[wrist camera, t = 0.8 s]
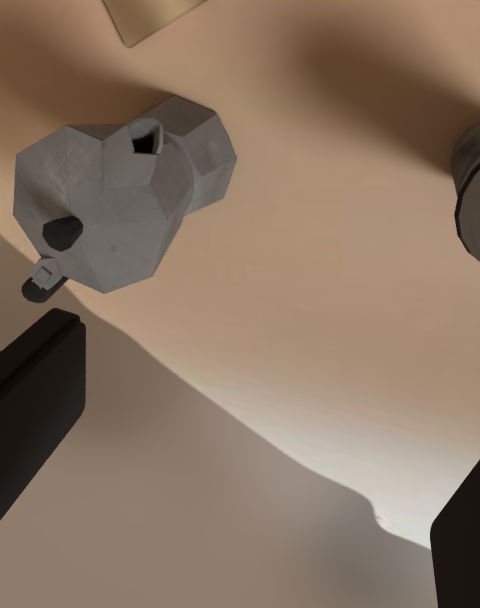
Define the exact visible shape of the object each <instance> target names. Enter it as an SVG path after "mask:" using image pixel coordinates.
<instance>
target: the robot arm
mask: <svg viewBox="0 0 480 608" xmlns="http://www.w3.org/2000/svg"><path fill="white" fill-rule="evenodd" d="M85 350H86V327H85V324H84V323H81V321H80V317H79V316H78V315H77V314H73V313H70V312H67V311H64V310H61V309H58V308H53V309H51V310H50V311H48V312H47V313H46V314H45V315H44V316H43V317H42V318H40V319H39V320H38V321H37V322H36V323H34V324H33V325H32V326H31V327H30V328H28V329H27V330H26V331H25V332H24V333H23V334H21V335H20V336H19V337H18V338H17V339H16V340H14V341H13V342H12V343H11V344H9V345H8V346H7V347H6V348H5V349H4V350H2V351H0V520H1V519H2V517H3V516H4V515H5V514H6V512H7V511H8V510H9V508H10V507H11V506H12V505H13V503H14V502H15V501H16V499H17V498H18V497H19V495H20V494H21V493H22V492H23V490H24V489H25V488H26V486H27V485H28V484H29V482H30V481H31V480H32V479H33V477H34V476H35V475H36V473H37V472H38V470H39V469H40V468H41V467H42V466H43V464H44V463H45V462H46V460H47V459H48V458H49V457H50V455H51V454H52V453H53V451H54V450H55V449H56V447H57V446H58V445H59V444H60V442H61V441H62V440H63V438H64V437H65V436H66V434H67V433H68V432H69V431H70V429H71V428H72V427H73V425H74V424H75V423H76V421H77V420H78V419H79V417H80V416H81V414H82V412H83V410H84V407H85V386H86V384H85V383H86V377H85V375H86V374H85V373H86V351H85ZM430 542H431V551H432V559H433V567H434V576H435V584H436V592H437V601H438V608H480V460H479V461H478V463H477V464H476V465H475V467H474V468H473V469H472V471H471V472H470V473H469V475H468V476H467V477H466V479H465V480H464V481H463V483H462V484H461V485H460V487H459V488H458V489H457V491H456V492H455V493H454V495H453V496H452V497H451V499H450V500H449V501H448V503H447V504H446V505H445V507H444V508H443V509H442V511H441V512H440V513H439V515H438V516H437V517H436V519H435V520H434V522H433V523H432V526H431V530H430Z"/></svg>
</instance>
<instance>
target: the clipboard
mask: <svg viewBox="0 0 480 608" xmlns="http://www.w3.org/2000/svg"><path fill="white" fill-rule="evenodd" d="M205 1H207V0H104V2H105V4H106V6H107V8H108V10H109V12H110V14H111V16H112V18H113V20H114V22H115V24H116V26H117V29H118V31H119V33H120V35H121V37H122V39H123V41H124V43H125V45H126V47H127V48H131V47H133V46H135V45H136V44H138V43H139V42H141V41H143V40H144V39H146V38H147V37H149V36H151V35H152V34H154V33H155V32H157V31H159V30H160V29H162V28H163V27H165V26H167V25H168V24H170V23H172V22H173V21H175V20H176V19H178V18H180V17H181V16H183V15H184V14H186V13H188V12H189V11H191V10H192V9H194V8H196V7H197V6H199V5H200V4H202V3H204V2H205Z"/></svg>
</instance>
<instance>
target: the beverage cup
mask: <svg viewBox="0 0 480 608" xmlns="http://www.w3.org/2000/svg"><path fill="white" fill-rule="evenodd" d="M451 163H452V165H451V167H452V174H453V179H454V184H455V188H456V193H457V197H458V199H457V204H456V209H455V214H454V216H455V222H456V229H457V235H458V237H459V238H460V240H461V242H462V243H463V245H464V247H465V248H466V250H467V252H468V253H470V254H471V255H472V256H473V257H475V258H476V259H477V260H478V261H480V124H479V125H476V126H475V127H473V128H471V129H470V130H468V131H467V132H466V133H465V134H464V135H463V136H462V137H461V138H460V139H459V140H458V142H457V144H456V145H455V147H454V149H453V153H452V158H451Z"/></svg>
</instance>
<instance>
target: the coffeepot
mask: <svg viewBox="0 0 480 608" xmlns="http://www.w3.org/2000/svg"><path fill="white" fill-rule="evenodd" d="M236 160H237V156H236V154H235V152H234V149H233V147H232V144H231V142H230V139H229V136H228V134H227V132H226V130H225V128H224V126H223V125H222V123H221V120H220V118H219V116H218V114H217V113H215V112H213V111H210V110H208V109H206V108H204V107H202V106H200V105H198V104H196V103H193V102H189V101H187V100H185V99H182V98H180V97H178V96H175V95H174V96H173V97H171V98H169V99H167V100H165V101H164V102H162V103H160V104H158V105H156V106H155V107H153V108H151V109H149V110H147V111H145V112H144V113H142V114H140V115H138V116H137V117H136V118H135V119H134V120H133V121H131V122H130V123H129V124H104V125H65V126H63V127H62V128H60V129H58V130H57V131H55V132H53V133H52V134H50V135H48V136H47V137H45V138H43V139H41V140H40V141H38V142H36V143H35V144H33V145H31V146H30V147H28V148H26V149H25V150H23V151H21V152H19V153H18V154H16V168H15V188H14V207H13V216H14V217H15V219H16V220H17V222H18V223H19V225H20V226H21V228H22V229H23V231H24V232H25V234H26V235H27V237H28V238H29V240H30V241H31V242H32V244H33V245H34V247H35V248H36V250H37V251H38V253H39V254H40V256H41V257H42V258H41V259H39V260H38V261H37V263H36V264H35V266H34V267H33V269H32V270H31V272H30V273H29V276H31V277H30V278H29V279H28V280H27V281H26V282H25V283H24V284H23V286H22V290H21V291H22V294H23V296H24V297H25V298H26V299H27V300H28V301H32V302H35V303H44V302H46V301H47V300H48V299H49V298H50V297H51V296H52V295H53V294H54V293H55V292H56V291H57V290H58V289H59V288H60V287H61V286H62V285H63V284H64V283H65V282H66V281H67V280H68V279H69V278H70V279H72V280H74V281H77V282H79V283H81V284H83V285H85V286H88V287H90V288H92V289H94V290H97V291H99V292H101V293H103V294H105V293H108V292H111V291H114V290H116V289H119V288H122V287H125V286H128V285H130V284H133V283H136V282H139V281H142V280H144V279H147V278H150V277H153V275H154V273H155V271H156V269H157V268H158V266H159V264H160V262H161V260H162V259H163V257H164V255H165V253H166V251H167V249H168V248H169V246H170V244H171V242H172V240H173V239H174V237H175V235H176V233H177V231H178V229H179V228H180V226H181V223H182V220H183V217H184V216H186V215H188V214H190V213H192V212H194V211H197V210H199V209H201V208H203V207H205V206H208V205H210V204H212V203H214V202H217V201H219V200H221V199H223V198H224V195H225V192H226V189H227V187H228V184H229V182H230V179H231V176H232V172H233V169H234V166H235V163H236Z"/></svg>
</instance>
